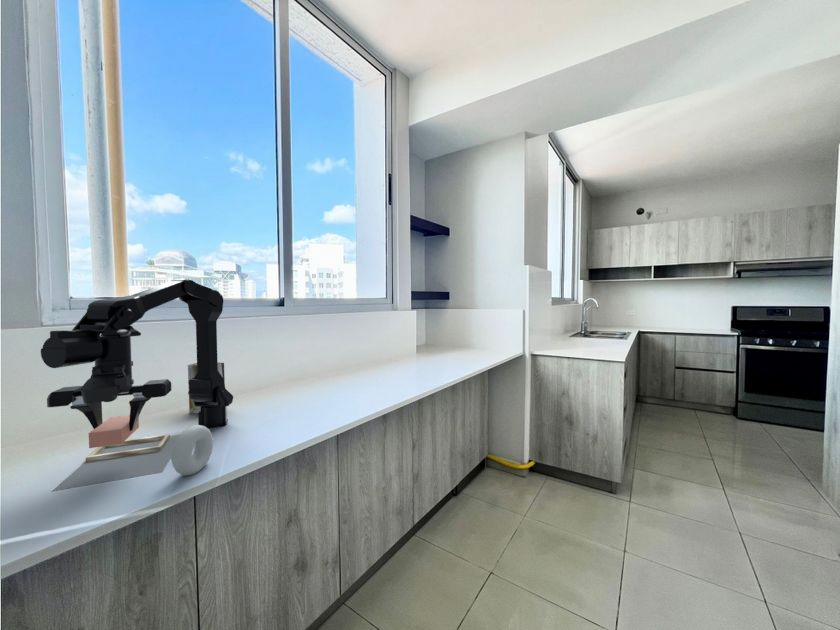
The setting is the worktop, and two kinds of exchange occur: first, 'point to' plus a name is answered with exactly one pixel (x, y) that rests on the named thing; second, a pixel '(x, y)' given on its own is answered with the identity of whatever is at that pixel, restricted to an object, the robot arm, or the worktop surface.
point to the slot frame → (95, 456)
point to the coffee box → (191, 374)
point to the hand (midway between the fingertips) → (115, 432)
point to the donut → (184, 447)
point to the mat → (121, 465)
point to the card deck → (111, 432)
